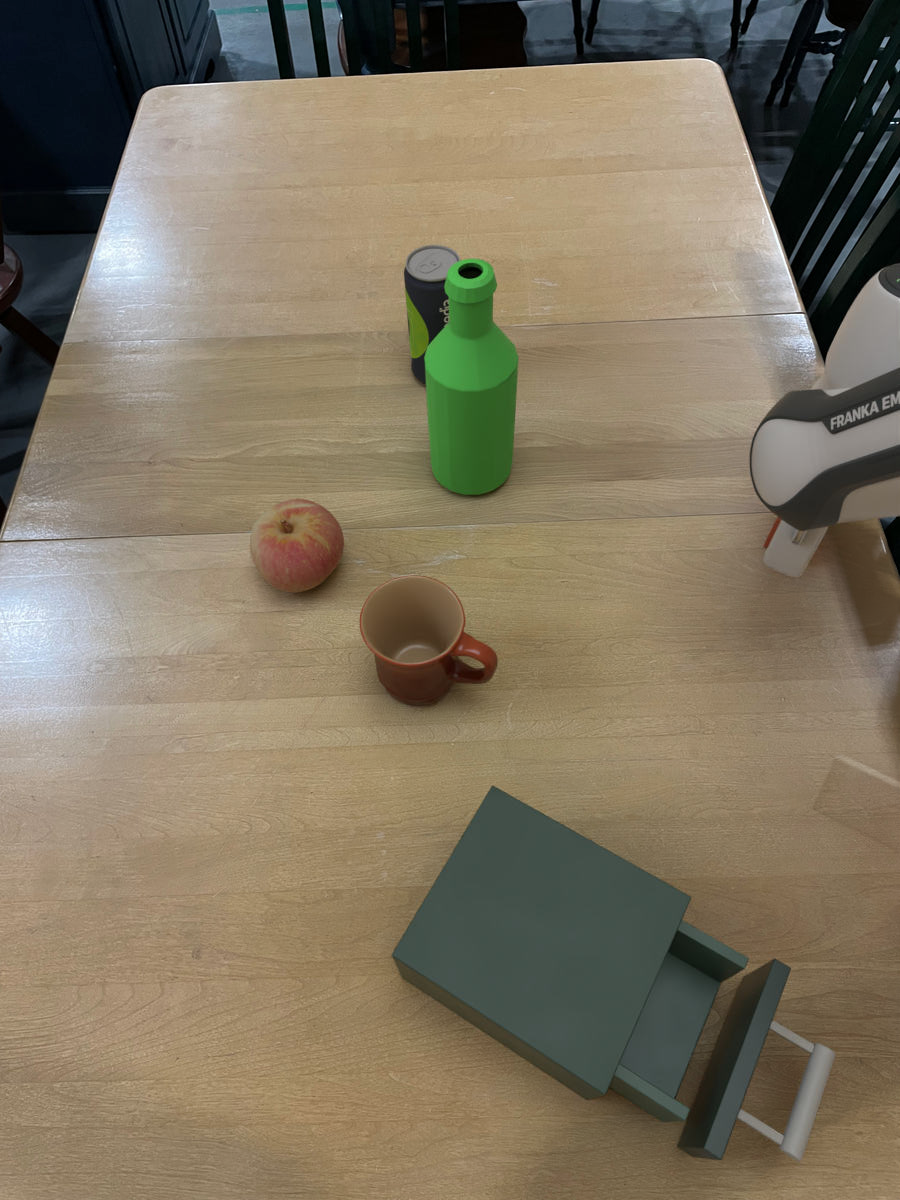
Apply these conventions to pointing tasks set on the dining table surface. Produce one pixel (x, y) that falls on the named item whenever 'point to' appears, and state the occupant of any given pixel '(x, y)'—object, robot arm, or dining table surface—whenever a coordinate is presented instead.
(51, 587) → the dining table surface
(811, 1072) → the drawer
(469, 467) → the bottle
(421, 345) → the beverage can
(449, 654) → the mug
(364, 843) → the dining table surface
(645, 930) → the cabinet
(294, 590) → the apple
